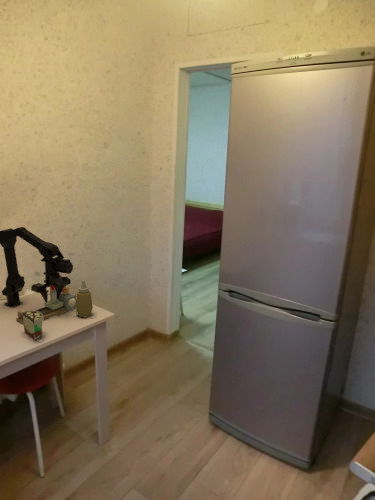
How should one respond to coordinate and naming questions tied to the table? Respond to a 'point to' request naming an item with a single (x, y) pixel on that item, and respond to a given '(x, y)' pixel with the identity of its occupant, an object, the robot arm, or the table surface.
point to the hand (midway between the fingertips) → (52, 300)
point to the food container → (33, 324)
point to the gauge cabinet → (68, 300)
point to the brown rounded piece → (65, 290)
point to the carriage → (53, 301)
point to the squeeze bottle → (84, 301)
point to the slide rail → (45, 311)
